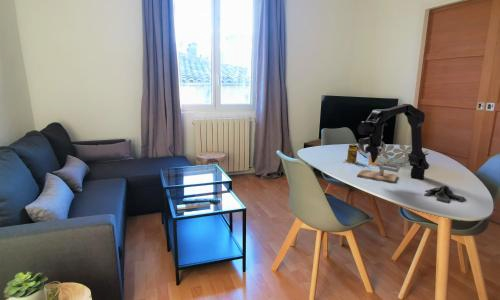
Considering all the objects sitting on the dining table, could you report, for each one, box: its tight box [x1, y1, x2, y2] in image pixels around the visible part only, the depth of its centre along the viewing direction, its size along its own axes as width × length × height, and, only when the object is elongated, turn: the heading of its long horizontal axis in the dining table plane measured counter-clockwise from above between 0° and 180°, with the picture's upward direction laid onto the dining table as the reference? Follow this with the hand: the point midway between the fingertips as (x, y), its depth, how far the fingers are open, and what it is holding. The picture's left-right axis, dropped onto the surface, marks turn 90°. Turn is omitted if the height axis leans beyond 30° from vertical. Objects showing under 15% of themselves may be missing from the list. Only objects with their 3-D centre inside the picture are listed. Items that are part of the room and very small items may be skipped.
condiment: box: [342, 143, 358, 165], centre depth 209 cm, size 7×8×12 cm
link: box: [368, 154, 401, 173], centre depth 162 cm, size 15×9×6 cm, turn 58°
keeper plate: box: [356, 168, 398, 184], centre depth 178 cm, size 20×13×7 cm, turn 57°
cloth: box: [423, 185, 466, 204], centre depth 151 cm, size 22×19×6 cm
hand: (373, 162), depth 165 cm, fingers closed on link
